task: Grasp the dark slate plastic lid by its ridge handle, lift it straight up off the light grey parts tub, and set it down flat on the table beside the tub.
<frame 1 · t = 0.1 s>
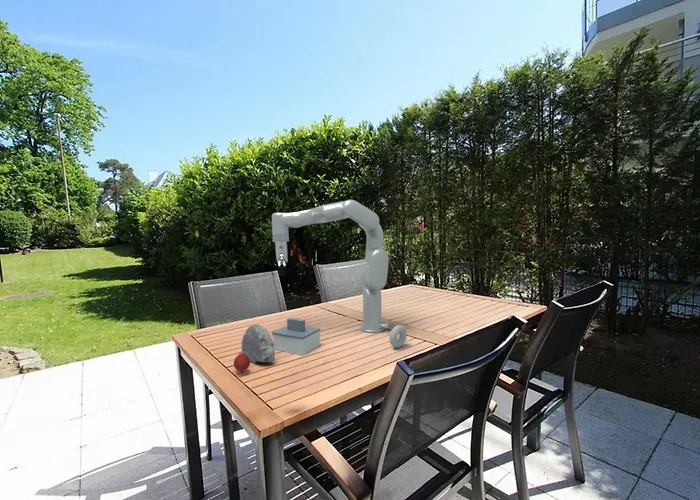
hand: (281, 273, 167), 31 cm above the table, tool pointing down, fingers open, 9 cm apart
lid: (296, 334, 155), point 6 cm above the table, touching tub
decorative rock: (258, 361, 141), on the table
onion: (242, 372, 130), on the table
tub: (296, 347, 155), on the table
donut: (398, 347, 153), on the table
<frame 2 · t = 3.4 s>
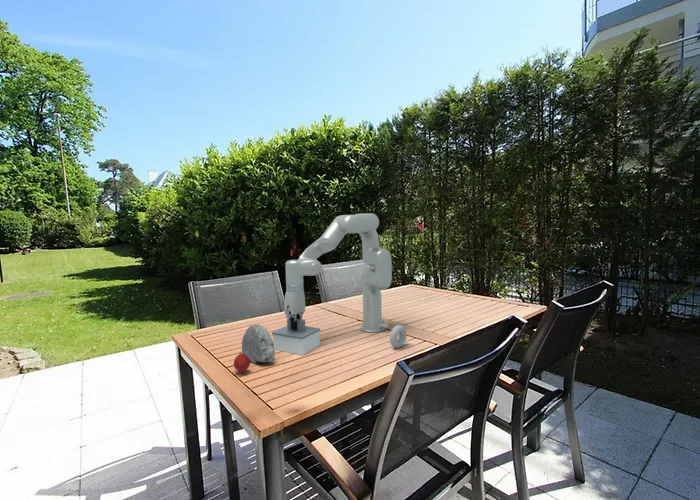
hand: (296, 328, 155), 9 cm above the table, tool pointing down, fingers closed on lid, 2 cm apart
lid: (296, 334, 155), point 6 cm above the table, touching gripper, tub
everything else where it was.
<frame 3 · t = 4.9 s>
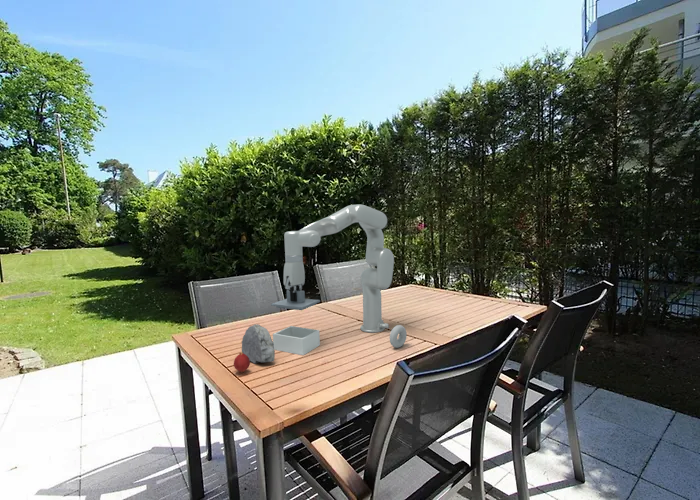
hand: (295, 300, 154), 21 cm above the table, tool pointing down, fingers closed on lid, 2 cm apart
lid: (296, 305, 154), point 19 cm above the table, touching gripper
everything else where it was.
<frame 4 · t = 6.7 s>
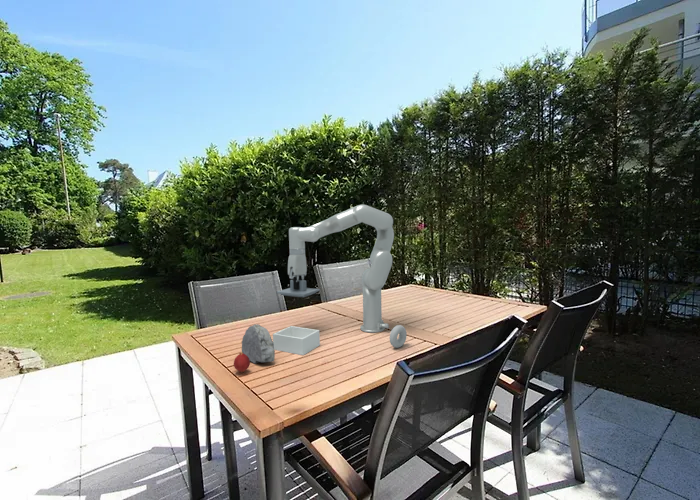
hand: (298, 288, 172), 23 cm above the table, tool pointing down, fingers closed on lid, 2 cm apart
lid: (298, 293, 172), point 20 cm above the table, touching gripper
everything else where it was.
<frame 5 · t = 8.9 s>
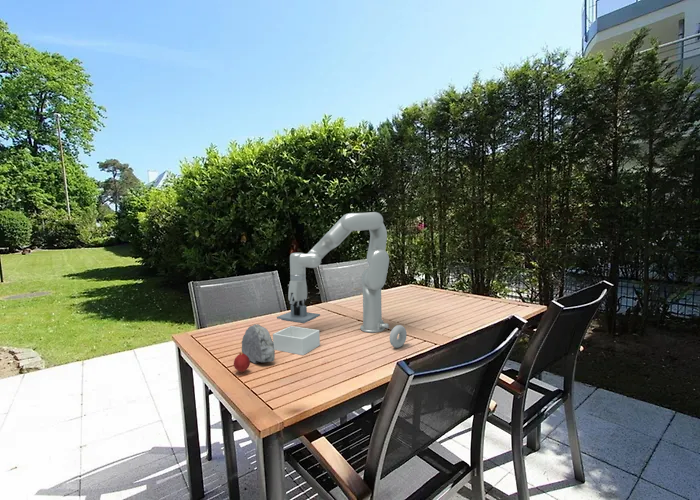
hand: (298, 313, 173), 10 cm above the table, tool pointing down, fingers closed on lid, 2 cm apart
lid: (298, 318, 173), point 8 cm above the table, touching gripper
everything else where it was.
when the fingers open (4 cm above the table, at t = 10.4 s): lid drops 2 cm, on the table.
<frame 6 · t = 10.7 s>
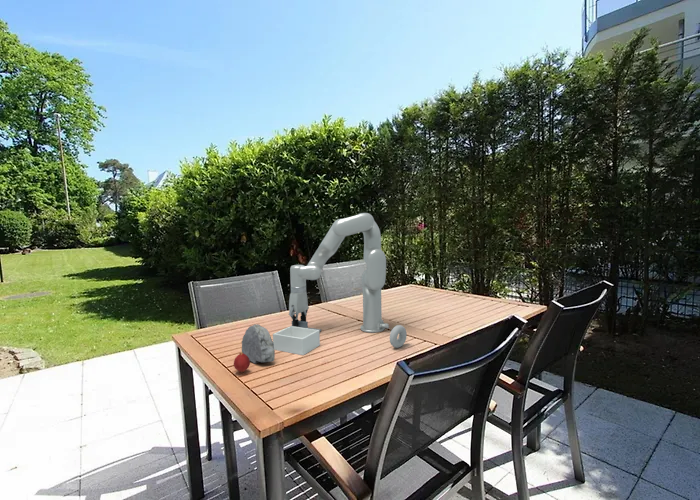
hand: (299, 325, 174), 5 cm above the table, tool pointing down, fingers open, 5 cm apart
lid: (300, 334, 174), on the table
everything else where it was.
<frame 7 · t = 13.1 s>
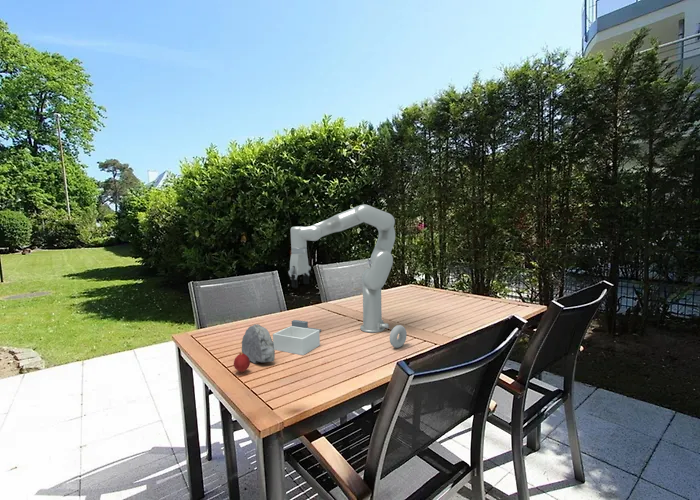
hand: (300, 285, 172), 24 cm above the table, tool pointing down, fingers open, 9 cm apart
nothing on the table moved.
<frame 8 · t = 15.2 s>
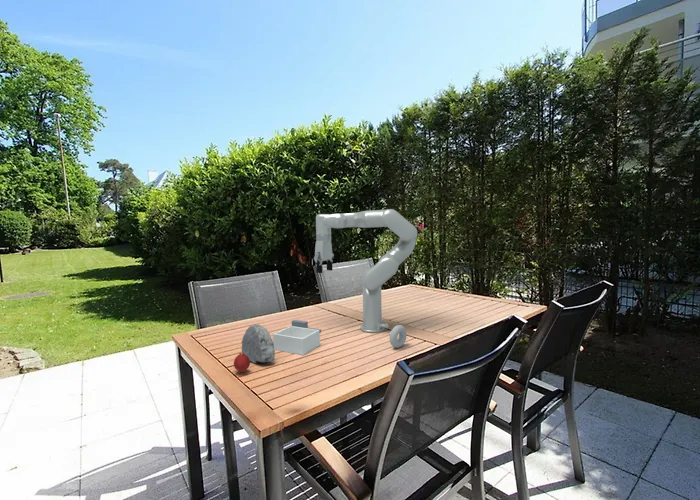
hand: (324, 271, 178), 30 cm above the table, tool pointing down, fingers open, 9 cm apart
nothing on the table moved.
at the end: lid inside the target area (0.0 cm from its centre), on the table; lid tilted 0°; lid touching table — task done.
